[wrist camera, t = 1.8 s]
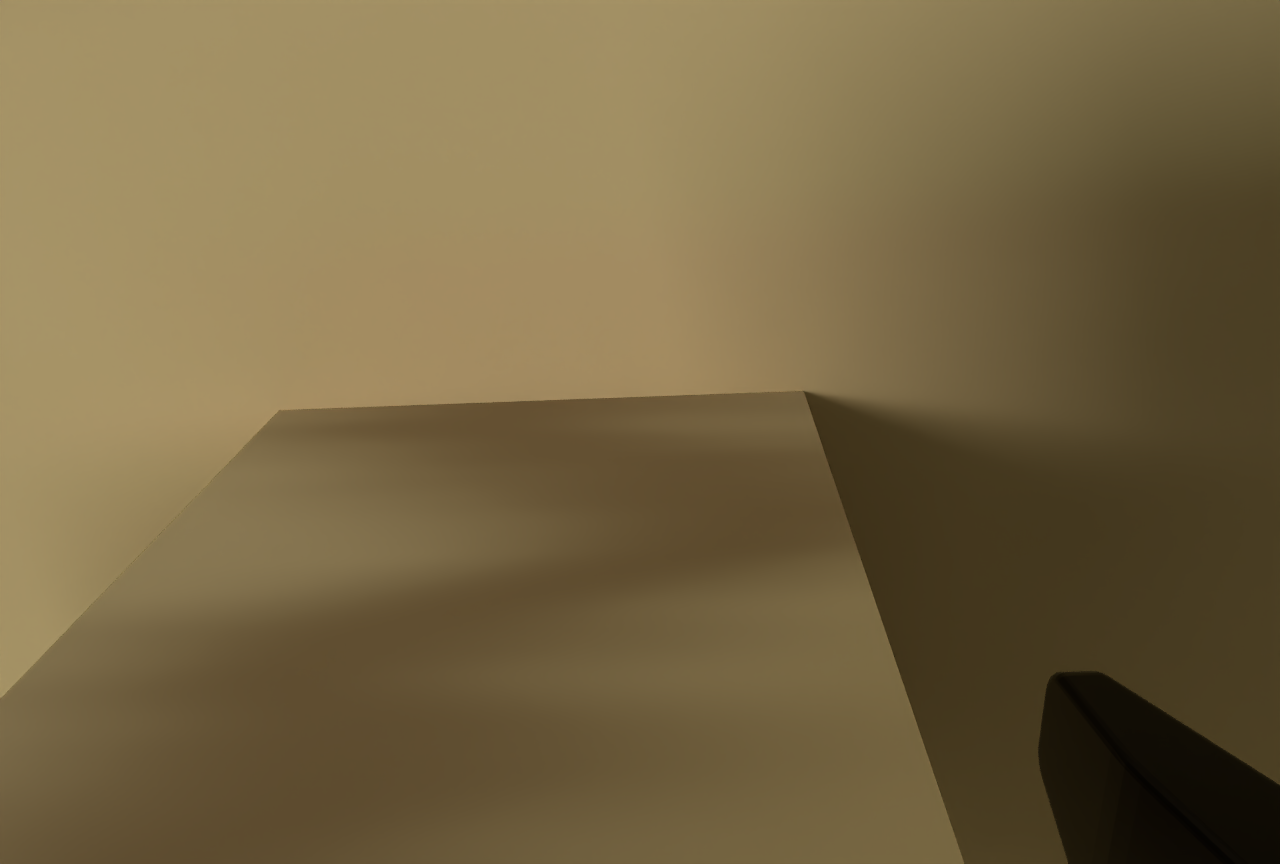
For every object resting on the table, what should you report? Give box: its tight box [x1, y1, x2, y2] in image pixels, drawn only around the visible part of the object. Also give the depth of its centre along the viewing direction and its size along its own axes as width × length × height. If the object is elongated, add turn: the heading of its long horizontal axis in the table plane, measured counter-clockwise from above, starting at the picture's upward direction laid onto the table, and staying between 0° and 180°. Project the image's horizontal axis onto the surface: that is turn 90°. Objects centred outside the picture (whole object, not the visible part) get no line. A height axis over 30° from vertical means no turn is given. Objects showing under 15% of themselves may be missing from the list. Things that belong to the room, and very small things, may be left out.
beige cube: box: [0, 391, 964, 864], centre depth 8 cm, size 5×5×6 cm
